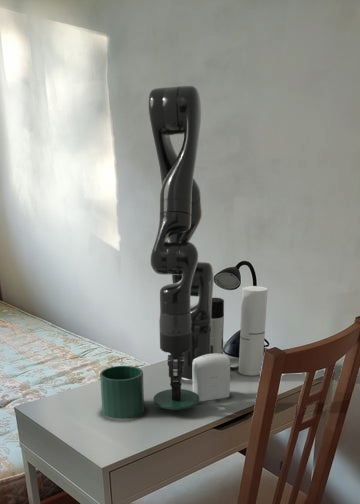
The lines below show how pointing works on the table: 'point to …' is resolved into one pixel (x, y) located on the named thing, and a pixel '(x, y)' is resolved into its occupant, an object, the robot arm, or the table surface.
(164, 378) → the table surface
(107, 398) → the tin
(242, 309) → the cylindrical container
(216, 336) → the spray can
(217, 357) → the photo printer
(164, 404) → the lid
